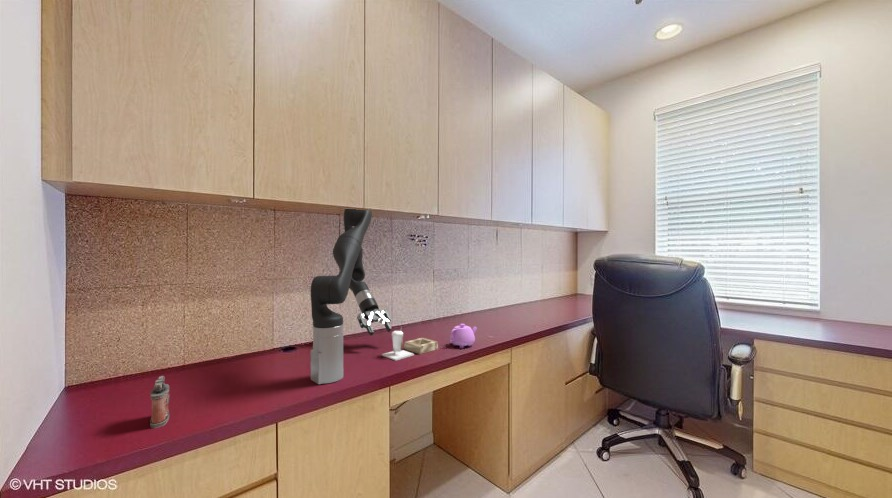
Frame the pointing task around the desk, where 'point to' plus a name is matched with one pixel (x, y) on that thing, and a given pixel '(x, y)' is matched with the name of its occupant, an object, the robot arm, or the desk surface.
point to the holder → (421, 345)
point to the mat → (397, 357)
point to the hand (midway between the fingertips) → (381, 332)
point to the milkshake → (397, 342)
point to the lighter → (159, 403)
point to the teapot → (463, 335)
